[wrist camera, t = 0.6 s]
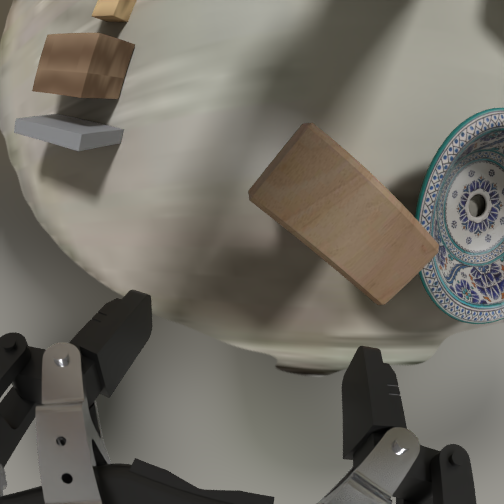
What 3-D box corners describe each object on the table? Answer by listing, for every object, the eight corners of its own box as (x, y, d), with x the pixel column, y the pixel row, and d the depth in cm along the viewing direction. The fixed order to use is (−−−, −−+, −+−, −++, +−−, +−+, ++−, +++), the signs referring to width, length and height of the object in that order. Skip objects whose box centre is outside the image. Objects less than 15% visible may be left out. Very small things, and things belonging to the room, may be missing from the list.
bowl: (466, 313, 37) (490, 351, 29) (351, 223, 36) (365, 254, 27) (551, 191, 27) (589, 210, 18) (453, 69, 25) (492, 58, 17)
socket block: (83, 42, 31) (47, 34, 23) (135, 44, 30) (99, 32, 23) (69, 90, 34) (32, 91, 27) (118, 99, 34) (80, 97, 27)
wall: (57, 114, 36) (15, 118, 28) (123, 129, 36) (81, 134, 28) (55, 126, 37) (14, 132, 29) (120, 143, 37) (78, 151, 28)
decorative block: (276, 159, 34) (241, 196, 16) (307, 123, 32) (309, 115, 14) (345, 219, 36) (379, 313, 18) (377, 186, 33) (445, 251, 15)
